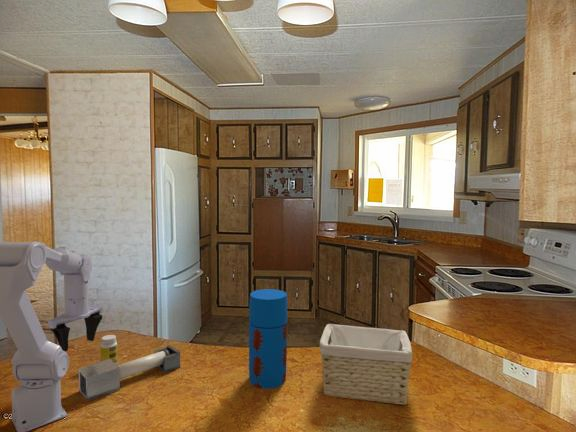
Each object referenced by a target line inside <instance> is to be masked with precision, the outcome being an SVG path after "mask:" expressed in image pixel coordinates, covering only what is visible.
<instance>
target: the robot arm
mask: <svg viewBox="0 0 576 432" xmlns="http://www.w3.org/2000/svg"><path fill="white" fill-rule="evenodd" d="M44 264H45V266H47V268H48V269H49V270H51V271H55V272H59V275H61V276H63V287H64V288H63V289H64V290H63V291H64V293H63V294H64V313H62V314H61V315H58V316H56V317H54V318H52V319H48V320H47V328H50V329H49V330H50V331H51V332H52V333H53V335H54V336H55V338H56V340H57V342H58V344H56V343H54V342H52V341H50V340H48V339H47V336H46V334H45V332H44V330H43V327H42V325H41V323H40V320H39V318H38V315H37V314H36V311H35V309H34V307H33V304H32V301H31V300H30V298H29V295H28V293H27V291H26V290H28V289H29V288H31V287H33V286H34V285H35V283H36V281H37V279H38V277H39V275H40V274H41V273H40V272H41V270H42V268H43V266H44ZM92 266H93V263H92V259H91V257H90V256H88V255H87V254H83V253H81V254H80V253H79V254H78V253H77V251H75V250H68V247H67V246H59V247H57V248H54V249H53V248H51V247H48V246H46V244H45V243H44V242H41V241H32V242H31V241H29V242H27V241H23V242H22V241H18V242H17V241H0V318H1V319H2V321H3V322H4V326H5V327H6V329H7V331H8V333H9V335H10V336H11V340H12V341H13V342H14V345H15V346H16V349H17V351H15V353H14V354H13V357H12V358H11V360H10V363H11V365H12V374H13V377H14V379H15V380H16V381H19V385H18V386H17V387H14V388H12V389H11V420H12V423H13V425H14V427H15V430H16V432H29V431H33V430H34V429H37V428H39V427H41V426H45V425H48V424H50V423H53V422H56V421H58V420H61V419H63V418H66V417H67V416H68V413H67V412H66V411H65V409H64V407H63V406H62V394H61V392H62V390H61V389H62V388H61V379H62V378H64V376H65V375H66V373H67V371H68V369H69V364H70V363H69V362H70V357H69V354H68V353H67V352H68V350H69V336H70V335H69V334H70V330H71V327H68V326H67V324H68V323H72V322H75V321H78V320H81V319H84V323H85V329H86V331H85V332H86V340H87V341H89V342H93V341H95V337H96V333H97V329H98V327H99V326H100V323H101V321H102V320H103V315H102V314H103V313H104V306H102V305H98V304H97V305H95V306H89V280H90V278H91V270H92Z"/></svg>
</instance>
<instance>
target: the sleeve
mask: <svg viewBox="0 0 576 432" xmlns="http://www.w3.org/2000/svg"><path fill="white" fill-rule="evenodd" d="M117 365H118V364H117V363H116V364H115V363H114V362H113V361H112V360H110V359H108V360H105V361H102V362H101V361H98V362H96V363H92V364H89V365H85V366H83V367H79V368H78V392H80V394H81V395H82V396H83V398H84V399H85V400H86V401H87V402H90V401H93V400H95V399H98V398H101V397H103V396H107V395H109V394H111V393H114V392H117V391H119V390H120V389H121V387H120V386H121V383H120V381H121V379H120V370H119V367H118V366H117Z"/></svg>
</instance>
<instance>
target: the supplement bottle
mask: <svg viewBox="0 0 576 432" xmlns="http://www.w3.org/2000/svg"><path fill="white" fill-rule="evenodd" d="M99 347H100V348H99V350H100V353H99V354H100V362H102V361H105V360H108V359H110V360H112V361H113V362H114V363H115V364H116V365H117V363H118V342H117V336H116V335H115V334H108V335H104V336H102V337H101V344H100V345H99Z"/></svg>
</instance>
